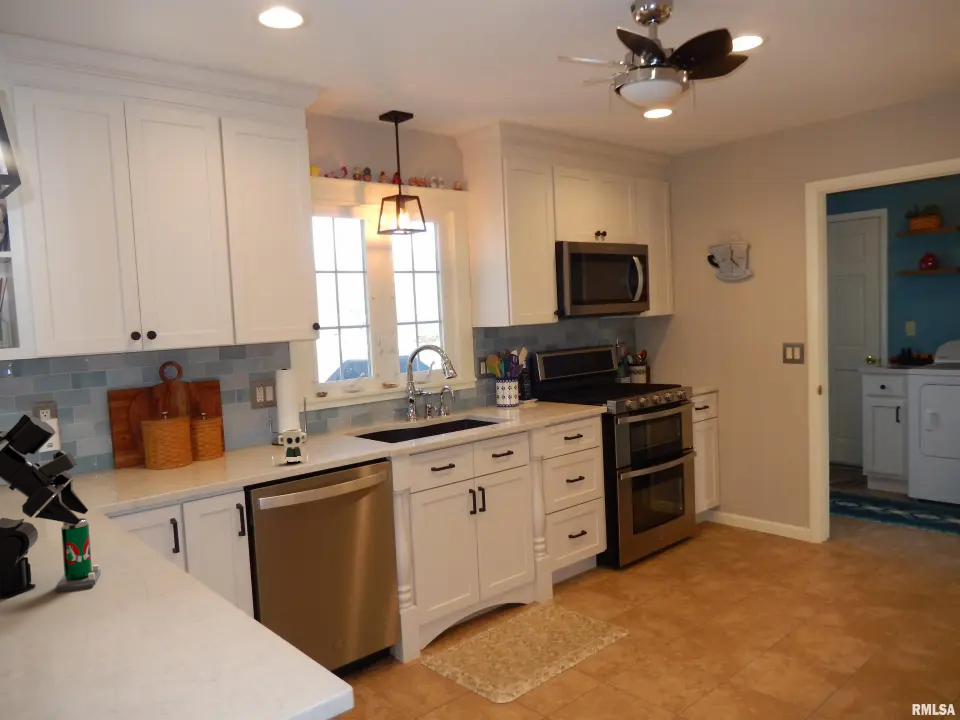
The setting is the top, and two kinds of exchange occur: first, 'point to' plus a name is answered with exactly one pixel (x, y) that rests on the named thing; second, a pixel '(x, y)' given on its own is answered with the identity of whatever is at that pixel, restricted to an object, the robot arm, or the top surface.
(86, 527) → the soda can
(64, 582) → the switch plate
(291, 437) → the character mug
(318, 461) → the top surface
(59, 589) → the dark grey rod
